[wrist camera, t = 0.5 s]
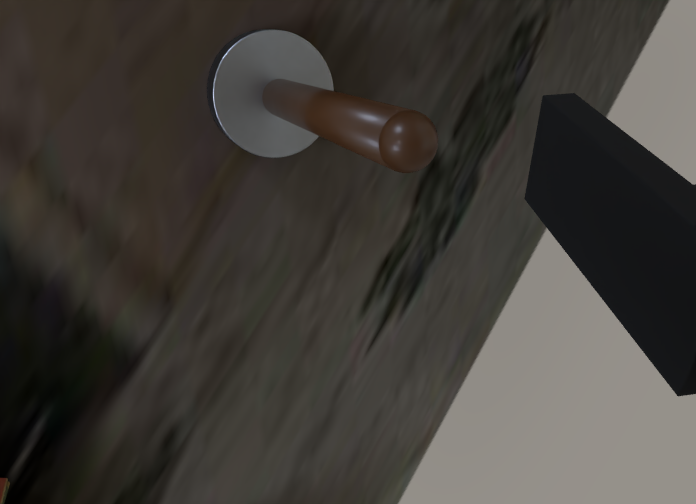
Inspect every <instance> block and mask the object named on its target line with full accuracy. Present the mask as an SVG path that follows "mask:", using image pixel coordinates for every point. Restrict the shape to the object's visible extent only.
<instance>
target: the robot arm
mask: <svg viewBox="0 0 696 504" xmlns="http://www.w3.org/2000/svg"><path fill="white" fill-rule="evenodd" d="M525 200H526V201H527V203H528V204H529V205H530V207H531V208H532V209H533V210H534V212H535V213H536V214H537V216H538V217H539V218H540V219H541V221H542V222H543V223H544V225H545V226H546V227H547V228H548V230H549V231H550V232H551V233H552V235H553V236H554V237H555V239H556V240H557V241H558V243H559V244H560V245H561V246H562V248H563V249H564V250H565V252H566V253H567V254H568V255H569V257H570V258H571V259H572V261H573V262H574V263H575V264H576V266H577V267H578V268H579V270H580V271H581V272H582V273H583V275H584V276H585V277H586V278H587V280H588V281H589V282H590V283H591V285H592V286H593V288H594V289H595V290H596V291H597V293H598V294H599V295H600V297H601V298H602V299H603V300H604V302H605V303H606V304H607V306H608V307H609V308H610V310H611V311H612V312H613V313H614V315H615V316H616V317H617V319H618V320H619V321H620V322H621V324H622V325H623V326H624V328H625V329H626V330H627V331H628V333H629V334H630V335H631V337H632V338H633V339H634V340H635V342H636V343H637V344H638V346H639V347H640V348H641V349H642V351H643V352H644V353H645V355H646V356H647V357H648V358H649V360H650V361H651V362H652V363H653V365H654V366H655V367H656V369H657V370H658V371H659V373H660V374H661V375H662V376H663V378H664V379H665V380H666V382H667V383H668V384H669V385H670V387H671V388H672V389H673V391H674V392H675V393H676V394H677V396H683V395H691V394H696V185H692V184H691V183H690V182H689V181H687V180H686V179H685V178H683V177H682V176H681V175H680V174H678V173H677V172H676V171H674V170H673V169H672V168H670V167H669V166H668V165H667V164H665V163H664V162H663V161H661V160H660V159H659V158H658V157H656V156H655V155H654V154H652V153H651V152H650V151H648V150H647V149H646V148H645V147H643V146H642V145H641V144H639V143H638V142H637V141H636V140H634V139H633V138H631V137H630V136H629V135H628V134H626V133H625V132H624V131H622V130H621V129H620V128H619V127H617V126H616V125H615V124H613V123H612V122H611V121H610V120H608V119H607V118H606V117H604V116H603V115H602V114H601V113H599V112H598V111H597V110H595V109H594V108H593V107H591V106H590V105H589V104H588V103H586V102H585V101H584V100H582V99H581V98H580V97H579V96H577V95H576V94H575V93H571V94H557V95H544V96H543V98H542V103H541V109H540V115H539V120H538V126H537V132H536V137H535V143H534V148H533V154H532V160H531V165H530V171H529V177H528V182H527V188H526V194H525Z"/></svg>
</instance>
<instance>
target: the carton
mask: <svg viewBox="0 0 696 504" xmlns="http://www.w3.org/2000/svg"><path fill="white" fill-rule="evenodd" d="M9 485H10V482H8V479H7V478H0V504H4V503H5V499H6V496H7V492H8V489H9Z"/></svg>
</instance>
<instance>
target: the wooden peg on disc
mask: <svg viewBox="0 0 696 504" xmlns="http://www.w3.org/2000/svg"><path fill="white" fill-rule="evenodd" d="M207 98H208V104H209V108H210V111H211V114H212V116H213V118H214V120H215V122H216V124H217V125H218V127H219V128H220V130H221V131H222V132H223V133H224V134H225V135H226V136H227V137H228V138H229V139H230V140H231V141H233V142H234V143H235V144H236V145H238V146H239V147H240V148H242V149H243V150H245V151H247V152H249V153H251V154H254V155H257V156H261V157H266V158H281V157H287V156H290V155H294V154H296V153H298V152H300V151H302V150H304V149H305V148H307V147H308V146H310V145H311V144H312V143H313V142H314V141H315V140H316V139H317V138H318V137H319V136H320V137H323V138H325V139H327V140H329V141H331V142H333V143H336V144H338V145H340V146H342V147H344V148H346V149H349V150H351V151H353V152H355V153H357V154H359V155H362V156H364V157H366V158H368V159H370V160H372V161H375V162H377V163H379V164H381V165H383V166H385V167H388V168H390V169H392V170H394V171H397V172H402V173H411V172H416V171H419V170H421V169H423V168H424V167H425V166H427V165H428V164H429V163H430V162H431V161H432V159H433V158H434V156H435V154H436V151H437V148H438V134H437V130H436V128H435V126H434V124H433V123H432V121H431V120H430V119H429V118H428V117H427V116H426V115H424V114H422V113H420V112H418V111H414V110H410V109H406V108H402V107H398V106H394V105H390V104H385V103H381V102H377V101H373V100H369V99H365V98H360V97H356V96H352V95H348V94H344V93H340V92H336V91H334V88H333V81H332V76H331V73H330V70H329V68H328V66H327V64H326V62H325V60H324V58H323V57H322V55H321V54H320V53H319V51H318V50H317V49H316V48H315V47H314V46H313V45H312V44H311V43H310V42H308V41H307V40H305V39H304V38H302V37H300V36H298V35H296V34H294V33H291V32H288V31H284V30H276V29H264V30H254V31H250V32H247V33H244V34H242V35H239V36H238V37H236V38H234V39H233V40H231V41H230V42H229V43H228V44H226V45H225V47H224V48H223V49H222V50H221V51H220V52H219V54H218V55H217V56H216V58H215V60H214V62H213V64H212V67H211V69H210V72H209V77H208V83H207Z"/></svg>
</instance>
